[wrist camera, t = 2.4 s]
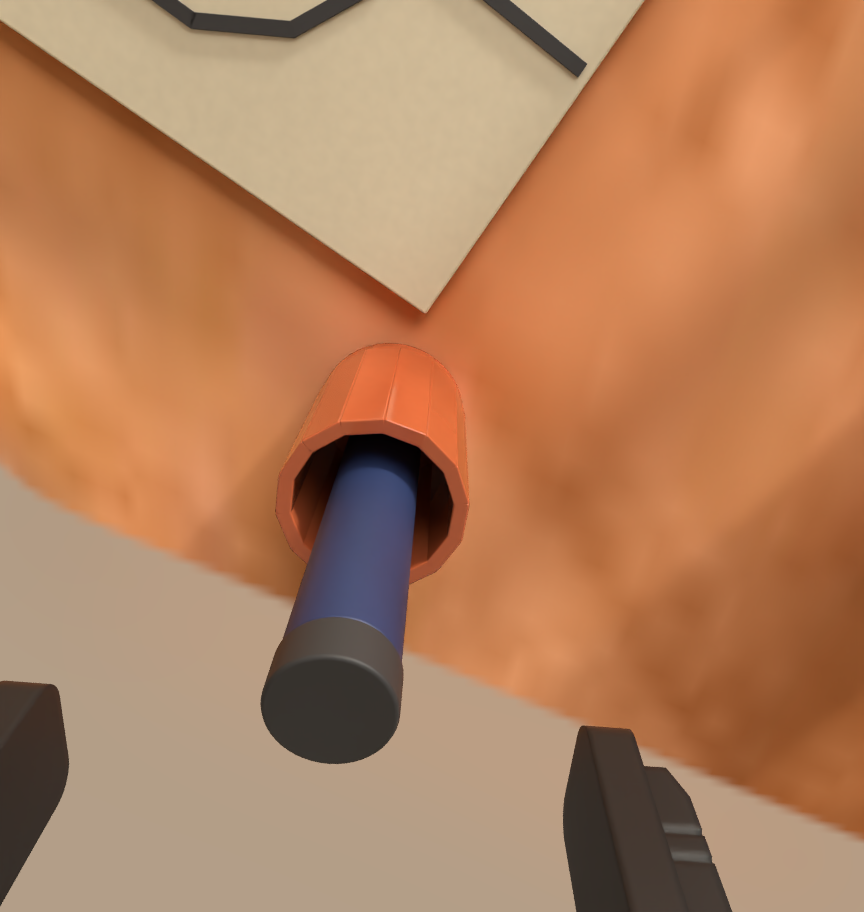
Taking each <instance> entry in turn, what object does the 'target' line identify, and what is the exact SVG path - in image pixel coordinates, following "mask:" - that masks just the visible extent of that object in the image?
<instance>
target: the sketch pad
mask: <svg viewBox="0 0 864 912" xmlns="http://www.w3.org/2000/svg"><path fill="white" fill-rule="evenodd" d="M644 1H645V0H0V21H1V22H3V23H4V24H6V25H7V26H9V27H10V28H12V29H13V30H14V31H16V32H17V33H19V34H20V35H22V36H23V37H25V38H26V39H27V40H29V41H30V42H32V43H33V44H35V45H36V46H38V47H39V48H41V49H42V50H43V51H45V52H46V53H48V54H49V55H51V56H52V57H54V58H55V59H56V60H58V61H59V62H61V63H62V64H64V65H65V66H67V67H68V68H69V69H71V70H72V71H74V72H75V73H77V74H78V75H80V76H81V77H83V78H84V79H85V80H87V81H88V82H90V83H91V84H93V85H94V86H96V87H97V88H98V89H100V90H101V91H103V92H104V93H106V94H107V95H109V96H110V97H111V98H113V99H114V100H116V101H117V102H119V103H120V104H122V105H123V106H125V107H126V108H127V109H129V110H130V111H132V112H133V113H135V114H136V115H138V116H139V117H140V118H142V119H143V120H145V121H146V122H148V123H149V124H151V125H152V126H153V127H155V128H156V129H158V130H159V131H161V132H162V133H164V134H165V135H166V136H168V137H169V138H171V139H172V140H174V141H175V142H177V143H178V144H180V145H181V146H182V147H184V148H185V149H187V150H188V151H190V152H191V153H193V154H194V155H195V156H197V157H198V158H200V159H201V160H203V161H204V162H206V163H207V164H208V165H210V166H211V167H213V168H214V169H216V170H217V171H219V172H220V173H222V174H223V175H224V176H226V177H227V178H229V179H230V180H232V181H233V182H235V183H236V184H237V185H239V186H240V187H242V188H243V189H245V190H246V191H248V192H249V193H250V194H252V195H253V196H255V197H256V198H258V199H259V200H261V201H262V202H264V203H265V204H266V205H268V206H269V207H271V208H272V209H274V210H275V211H277V212H278V213H279V214H281V215H282V216H284V217H285V218H287V219H288V220H290V221H291V222H292V223H294V224H295V225H297V226H298V227H300V228H301V229H303V230H304V231H305V232H307V233H308V234H310V235H311V236H313V237H314V238H316V239H317V240H319V241H320V242H321V243H323V244H324V245H326V246H327V247H329V248H330V249H332V250H333V251H334V252H336V253H337V254H339V255H340V256H342V257H343V258H345V259H346V260H347V261H349V262H350V263H352V264H353V265H355V266H356V267H358V268H359V269H361V270H362V271H363V272H365V273H366V274H368V275H369V276H371V277H372V278H374V279H375V280H376V281H378V282H379V283H381V284H382V285H384V286H385V287H387V288H388V289H389V290H391V291H392V292H394V293H395V294H397V295H398V296H400V297H401V298H403V299H404V300H405V301H407V302H408V303H410V304H411V305H413V306H414V307H416V308H417V309H418V310H420V311H421V312H423V313H427V312H428V310H429V309H430V307H431V306H432V305H433V303H434V302H435V300H436V299H437V297H438V296H439V295H440V293H441V292H442V290H443V289H444V287H445V286H446V285H447V283H448V282H449V280H450V279H451V277H452V276H453V275H454V273H455V272H456V270H457V269H458V267H459V266H460V264H461V263H462V262H463V260H464V259H465V257H466V256H467V254H468V253H469V252H470V250H471V249H472V247H473V246H474V244H475V243H476V242H477V240H478V239H479V237H480V236H481V234H482V233H483V231H484V230H485V229H486V227H487V226H488V224H489V223H490V221H491V220H492V219H493V217H494V216H495V214H496V213H497V211H498V210H499V209H500V207H501V206H502V204H503V203H504V201H505V200H506V199H507V197H508V196H509V194H510V193H511V191H512V190H513V188H514V187H515V186H516V184H517V183H518V181H519V180H520V178H521V177H522V176H523V174H524V173H525V171H526V170H527V168H528V167H529V166H530V164H531V163H532V161H533V160H534V158H535V157H536V155H537V154H538V153H539V151H540V150H541V148H542V147H543V145H544V144H545V143H546V141H547V140H548V138H549V137H550V135H551V134H552V133H553V131H554V130H555V128H556V127H557V125H558V124H559V123H560V121H561V120H562V118H563V117H564V115H565V114H566V112H567V111H568V110H569V108H570V107H571V105H572V104H573V102H574V101H575V100H576V98H577V97H578V95H579V94H580V92H581V91H582V90H583V88H584V87H585V85H586V84H587V82H588V81H589V79H590V78H591V77H592V75H593V74H594V72H595V71H596V69H597V68H598V67H599V65H600V64H601V62H602V61H603V59H604V58H605V57H606V55H607V54H608V52H609V51H610V49H611V48H612V47H613V45H614V44H615V42H616V41H617V39H618V38H619V36H620V35H621V34H622V32H623V31H624V29H625V28H626V26H627V25H628V24H629V22H630V21H631V19H632V18H633V16H634V15H635V14H636V12H637V11H638V9H639V8H640V6H641V5H642V3H643V2H644Z"/></svg>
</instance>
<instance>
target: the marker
mask: <svg viewBox="0 0 864 912" xmlns="http://www.w3.org/2000/svg"><path fill="white" fill-rule="evenodd" d="M420 456H421V450H420V449H419V448H418V447H417V446H414V445H412V444H409V443H406V442H404V441H401V440H398V439H396V438H393V437H390V436H388V435H385V434H365V435H349V438H348V441H347V444H346V447H345V450H344V453H343V456H342V460H341V463H340V466H339V469H338V472H337V475H336V478H335V481H334V484H333V487H332V490H331V493H330V496H329V499H328V502H327V505H326V508H325V511H324V515H323V518H322V521H321V524H320V527H319V530H318V533H317V536H316V539H315V542H314V545H313V548H312V551H311V554H310V557H309V560H308V563H307V566H306V570H305V573H304V576H303V579H302V582H301V585H300V588H299V591H298V594H297V597H296V600H295V603H294V606H293V609H292V612H291V615H290V619H289V622H288V625H287V628H286V631H285V634H284V637H283V640H282V641H281V643H280V644H279V646H278V648H277V650H276V652H275V655H274V658H273V661H272V664H271V667H270V670H269V673H268V676H267V679H266V682H265V685H264V688H263V691H262V696H261V711H262V716H263V719H264V722H265V725H266V727H267V729H268V730H269V731H270V733H271V735H272V736H273V737H274V738H275V740H276V741H277V742H279V743H280V744H281V745H282V746H283V747H284V748H286V749H287V750H289V751H290V752H292V753H294V754H295V755H298V756H300V757H302V758H305V759H308V760H311V761H315V762H320V763H327V764H342V763H350V762H355V761H358V760H362V759H364V758H366V757H369V756H371V755H372V754H374V753H376V752H377V751H379V750H380V749H381V748H383V746H385V744H387V742H388V741H389V740H390V738H391V737H392V736H393V734H394V732H395V731H396V729H397V726H398V723H399V718H400V710H401V698H402V686H403V666H402V655H403V644H404V633H405V622H406V611H407V600H408V589H409V578H410V567H411V556H412V545H413V534H414V523H415V512H416V501H417V489H418V478H419V467H420Z"/></svg>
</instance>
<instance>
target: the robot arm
mask: <svg viewBox="0 0 864 912" xmlns="http://www.w3.org/2000/svg"><path fill="white" fill-rule="evenodd" d="M68 768H69V758H68V750H67V744H66V737H65V730H64V723H63V716H62V709H61V702H60V695H59V691H58V689H57V687H56V686H54V685H52V684H41V683H28V682H14V681H1V682H0V906H1V904H2V902H3V900H4V899H5V897H6V895H7V893H8V892H9V890H10V888H11V886H12V884H13V882H14V881H15V879H16V877H17V876H18V874H19V872H20V870H21V868H22V867H23V865H24V863H25V861H26V860H27V858H28V856H29V855H30V853H31V851H32V849H33V848H34V846H35V844H36V842H37V840H38V839H39V837H40V835H41V833H42V832H43V830H44V828H45V826H46V825H47V823H48V821H49V819H50V818H51V816H52V814H53V812H54V810H55V809H56V807H57V805H58V803H59V801H60V799H61V797H62V794H63V792H64V788H65V785H66V780H67V776H68ZM563 828H564V829H563V830H564V841H565V847H566V853H567V859H568V864H569V871H570V876H571V882H572V888H573V894H574V900H575V906H576V912H732V910H731V908H730V905H729V902H728V899H727V896H726V894H725V891H724V888H723V886H722V883H721V880H720V877H719V875H718V872H717V869H716V866H715V864H713V863H712V856H711V853H710V850H709V848H708V845H707V842H706V839H705V837H704V836H702V828H701V826H700V823H699V820H698V818H697V815H696V812H695V810H694V807H693V804H692V801H691V799H690V796H689V795H688V794H687V793H686V792H685V790H684V789H683V788H682V787H681V786H680V784H679V783H678V782H677V781H676V779H675V778H674V777H673V776H672V775H671V773H670V772H669V771H668V770H667V769H666V768H662V767H648V766H644V765H643V762H642V759H641V756H640V752H639V749H638V746H637V743H636V740H635V737H634V734H633V733H632V731H631V730H630V729H622V728H609V727H595V726H581V727H580V729H579V732H578V735H577V740H576V745H575V749H574V755H573V759H572V764H571V769H570V774H569V779H568V783H567V788H566V793H565V798H564V809H563Z"/></svg>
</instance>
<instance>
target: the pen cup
mask: <svg viewBox="0 0 864 912" xmlns="http://www.w3.org/2000/svg"><path fill="white" fill-rule="evenodd" d="M365 434H385V435H388V436H390V437H393V438H396V439H398V440H401V441H404V442H406V443H409V444H412V445H414V446H417V447H418V448H419V449H420V450H421V456H420V467H419V478H418V489H417V501H416V512H415V523H414V534H413V545H412V556H411V567H410V578H409V584H411V583H414V582H416V581H418V580H420V579H422V578H424V577H426V576H428V575H431V574H433V573H435V572H436V571H438V570H439V569H440V568H441V566H442V565H443V564H444V563H445V561H446V560H447V559H448V558H449V557H450V555H451V554H452V553H453V552H454V550H455V549H456V548H457V547H458V546H459V544H460V543H461V541H462V539H463V535H464V530H465V525H466V520H467V515H468V510H469V487H468V467H467V447H466V427H465V413H464V409H463V405H462V399H461V395H460V392H459V389H458V387H457V384H456V382H455V381H454V379H453V377H452V376H451V374H450V373H449V372H448V370H447V369H446V368H445V367H444V366H443V365H442V364H441V363H440V362H439V361H438V360H436V359H435V358H434V357H432V356H431V355H429V354H427V353H426V352H424V351H422V350H419V349H417V348H414V347H411V346H407V345H402V344H392V343H385V344H376V345H372V346H368V347H365V348H362V349H360V350H358V351H356V352H354V353H352V354H350V355H349V356H347V357H346V358H345V359H343V360H342V361H341V362H340V363H339V364H338V365H337V366H336V367H335V369H334V370H333V371H332V372H331V374H330V375H329V377H328V379H327V381H326V383H325V384H324V386H323V387H322V389H321V390H320V392H319V394H318V396H317V398H316V400H315V402H314V404H313V406H312V408H311V410H310V412H309V414H308V416H307V418H306V420H305V422H304V424H303V426H302V428H301V430H300V432H299V434H298V436H297V438H296V440H295V442H294V444H293V446H292V448H291V451H290V453H289V455H288V457H287V459H286V461H285V463H284V465H283V467H282V469H281V471H280V473H279V476H278V486H277V497H276V509H275V512H276V516H277V519H278V521H279V523H280V526H281V528H282V530H283V533H284V535H285V537H286V539H287V542H288V544H289V546H290V548H291V549H292V551H293V552H294V553H295V554H296V555H297V556H299V557H300V558H301V559H302V560H303V561H304V562H305V563H306V564H307V563H308V560H309V557H310V554H311V551H312V548H313V545H314V542H315V539H316V536H317V533H318V530H319V527H320V524H321V521H322V518H323V515H324V511H325V508H326V505H327V502H328V499H329V496H330V493H331V490H332V487H333V484H334V481H335V478H336V475H337V472H338V469H339V466H340V463H341V460H342V456H343V453H344V450H345V447H346V444H347V441H348V438H349V435H365Z"/></svg>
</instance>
